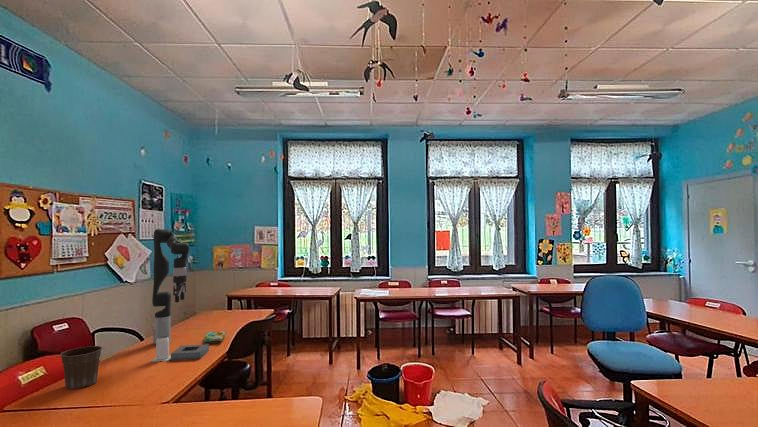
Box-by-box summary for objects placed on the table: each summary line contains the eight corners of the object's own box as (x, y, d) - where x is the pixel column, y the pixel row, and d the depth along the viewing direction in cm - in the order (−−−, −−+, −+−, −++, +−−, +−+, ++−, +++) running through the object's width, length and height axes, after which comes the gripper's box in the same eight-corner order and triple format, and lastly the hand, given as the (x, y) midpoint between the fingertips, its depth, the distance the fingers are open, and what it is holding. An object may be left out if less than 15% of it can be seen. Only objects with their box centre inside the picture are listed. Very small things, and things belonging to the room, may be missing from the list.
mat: (150, 362, 223) (150, 361, 223) (157, 357, 232) (157, 356, 232) (167, 361, 224) (167, 360, 224) (173, 356, 233) (173, 355, 233)
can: (154, 358, 228) (154, 337, 229) (166, 355, 233) (166, 334, 233) (158, 360, 224) (158, 339, 224) (170, 357, 229) (170, 336, 229)
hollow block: (170, 360, 225) (170, 353, 225) (181, 352, 241) (181, 345, 241) (200, 359, 227) (200, 352, 227) (208, 350, 243) (208, 344, 243)
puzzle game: (226, 329, 277) (221, 337, 258) (226, 336, 277) (221, 344, 257) (208, 331, 274) (202, 338, 255) (208, 338, 274) (202, 346, 255)
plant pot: (52, 393, 181) (52, 357, 182) (69, 380, 196) (70, 347, 197) (93, 388, 185) (93, 353, 186) (107, 376, 201) (107, 344, 201)
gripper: (177, 273, 254) (177, 299, 253) (168, 276, 240) (168, 303, 239) (190, 273, 255) (190, 298, 254) (181, 275, 241) (181, 302, 240)
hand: (179, 301), depth 247 cm, fingers open, 8 cm apart
